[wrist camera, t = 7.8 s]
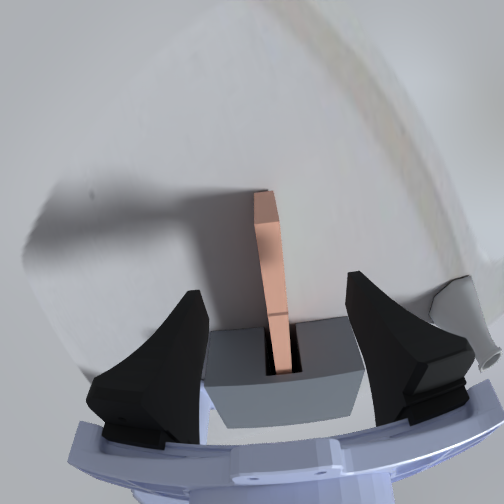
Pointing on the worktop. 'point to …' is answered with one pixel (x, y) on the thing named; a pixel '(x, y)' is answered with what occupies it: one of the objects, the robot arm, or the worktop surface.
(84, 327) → the worktop surface
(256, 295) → the worktop surface
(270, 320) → the strip
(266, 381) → the block
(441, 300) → the flask
